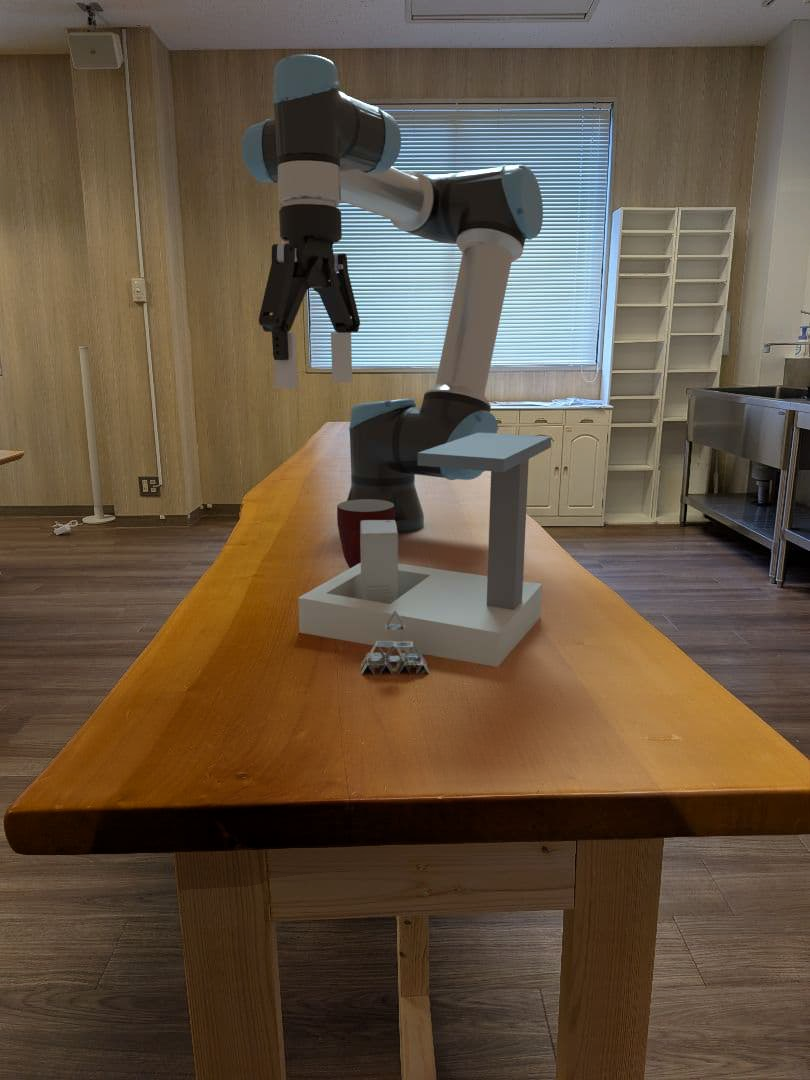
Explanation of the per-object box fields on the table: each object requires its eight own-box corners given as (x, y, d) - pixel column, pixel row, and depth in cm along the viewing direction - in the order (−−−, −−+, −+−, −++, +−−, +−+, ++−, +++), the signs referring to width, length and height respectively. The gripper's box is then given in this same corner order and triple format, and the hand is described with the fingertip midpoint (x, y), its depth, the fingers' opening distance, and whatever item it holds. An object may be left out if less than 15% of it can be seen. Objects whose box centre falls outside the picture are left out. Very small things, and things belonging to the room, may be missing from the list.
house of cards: (444, 656, 78) (445, 589, 76) (450, 695, 69) (452, 620, 67) (359, 657, 78) (359, 589, 76) (356, 695, 69) (355, 620, 67)
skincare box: (361, 615, 88) (360, 519, 85) (396, 614, 89) (396, 519, 85) (361, 635, 83) (360, 533, 79) (399, 634, 83) (399, 532, 80)
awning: (474, 572, 88) (478, 432, 84) (543, 582, 85) (551, 436, 80) (416, 620, 73) (417, 452, 69) (497, 634, 70) (503, 458, 65)
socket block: (367, 595, 95) (367, 559, 94) (540, 624, 86) (542, 584, 84) (299, 639, 81) (298, 597, 80) (497, 679, 72) (498, 632, 70)
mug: (391, 589, 97) (390, 516, 95) (331, 587, 98) (329, 515, 95) (397, 565, 108) (397, 499, 105) (343, 564, 108) (341, 498, 105)
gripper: (334, 222, 101) (339, 378, 107) (219, 191, 79) (232, 390, 85) (383, 218, 98) (384, 380, 103) (277, 185, 76) (286, 392, 82)
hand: (316, 385), depth 94 cm, fingers open, 13 cm apart
